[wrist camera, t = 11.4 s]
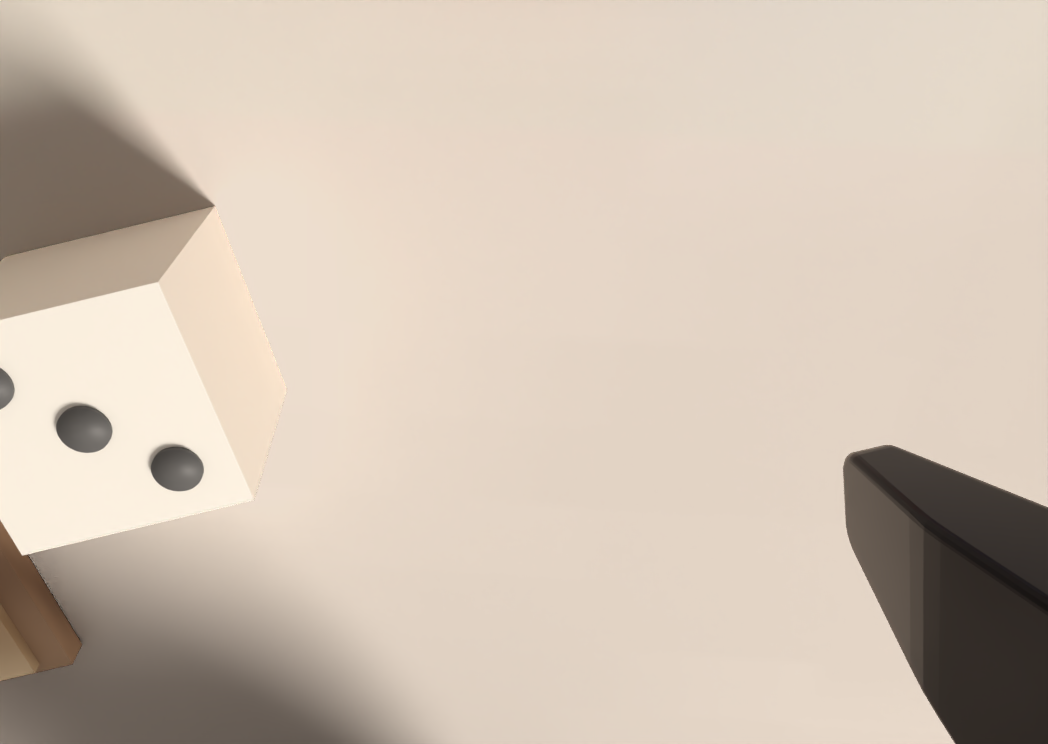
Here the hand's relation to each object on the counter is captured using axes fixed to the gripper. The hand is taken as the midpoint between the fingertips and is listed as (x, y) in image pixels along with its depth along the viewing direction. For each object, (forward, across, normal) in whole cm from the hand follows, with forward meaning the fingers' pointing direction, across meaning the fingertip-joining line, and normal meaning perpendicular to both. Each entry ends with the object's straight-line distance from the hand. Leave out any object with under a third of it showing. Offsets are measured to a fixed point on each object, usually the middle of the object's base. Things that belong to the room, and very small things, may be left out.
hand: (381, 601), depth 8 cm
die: (+12, +6, +1) cm, 14 cm away
